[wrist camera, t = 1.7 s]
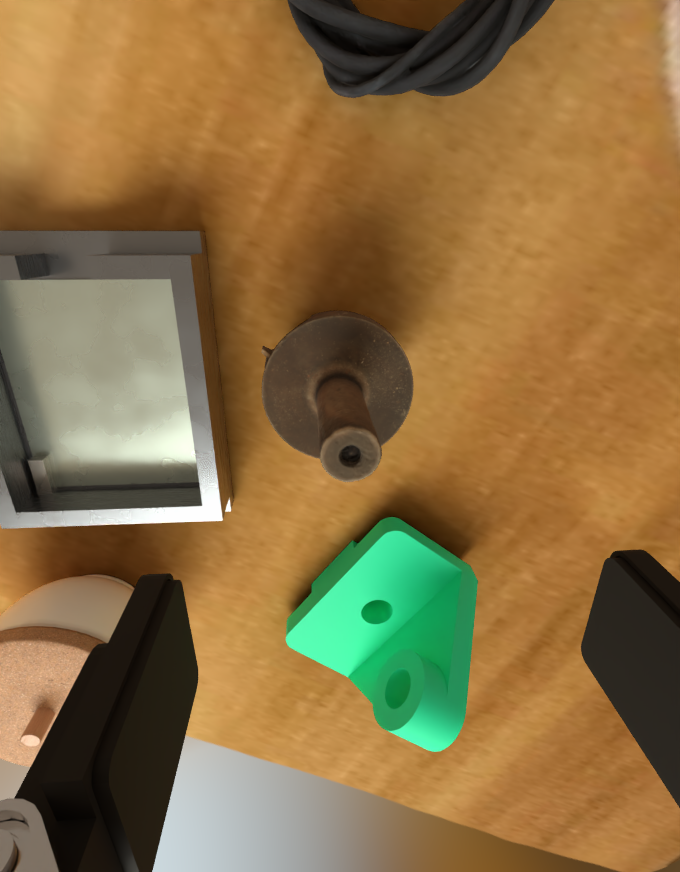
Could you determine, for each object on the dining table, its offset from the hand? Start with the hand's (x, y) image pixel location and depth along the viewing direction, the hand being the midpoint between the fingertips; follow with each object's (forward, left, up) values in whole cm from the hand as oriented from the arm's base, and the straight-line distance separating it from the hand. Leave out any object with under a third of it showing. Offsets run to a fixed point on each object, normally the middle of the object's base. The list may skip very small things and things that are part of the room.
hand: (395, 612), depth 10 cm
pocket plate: (+13, 0, -18) cm, 22 cm away
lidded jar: (+17, +17, -19) cm, 30 cm away
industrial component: (0, 0, -19) cm, 19 cm away
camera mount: (-2, +16, -19) cm, 25 cm away
